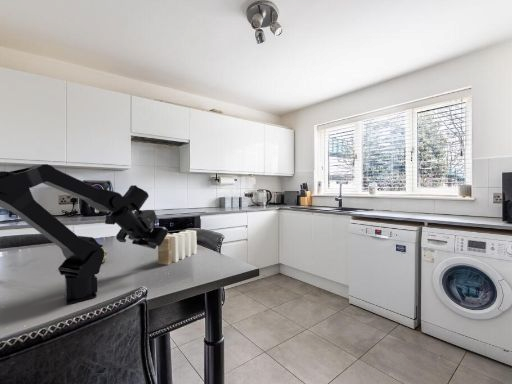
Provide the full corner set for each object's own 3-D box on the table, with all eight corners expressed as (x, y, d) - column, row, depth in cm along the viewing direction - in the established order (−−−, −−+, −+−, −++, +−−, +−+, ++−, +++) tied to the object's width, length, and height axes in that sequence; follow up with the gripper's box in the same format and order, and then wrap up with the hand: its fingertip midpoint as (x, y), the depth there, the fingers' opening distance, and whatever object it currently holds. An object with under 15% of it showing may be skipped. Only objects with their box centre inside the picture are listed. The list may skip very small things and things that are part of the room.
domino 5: (194, 254, 110) (194, 231, 110) (185, 253, 112) (184, 230, 111) (196, 253, 111) (196, 230, 111) (187, 252, 113) (187, 230, 113)
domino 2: (175, 262, 99) (175, 236, 98) (165, 260, 101) (165, 235, 100) (178, 260, 100) (178, 235, 100) (168, 259, 102) (168, 235, 102)
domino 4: (188, 256, 106) (188, 233, 106) (179, 255, 108) (178, 232, 108) (191, 255, 108) (190, 232, 107) (181, 254, 109) (181, 231, 109)
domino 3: (182, 259, 102) (182, 234, 102) (172, 258, 104) (172, 233, 104) (185, 258, 104) (184, 234, 104) (175, 257, 106) (174, 233, 106)
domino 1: (168, 265, 95) (168, 238, 95) (158, 263, 97) (157, 237, 97) (171, 263, 97) (171, 237, 96) (161, 262, 98) (160, 236, 98)
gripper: (163, 203, 83) (185, 231, 94) (122, 202, 90) (147, 228, 101) (145, 231, 76) (171, 257, 87) (102, 227, 83) (131, 252, 94)
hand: (155, 247), depth 92 cm, fingers closed
